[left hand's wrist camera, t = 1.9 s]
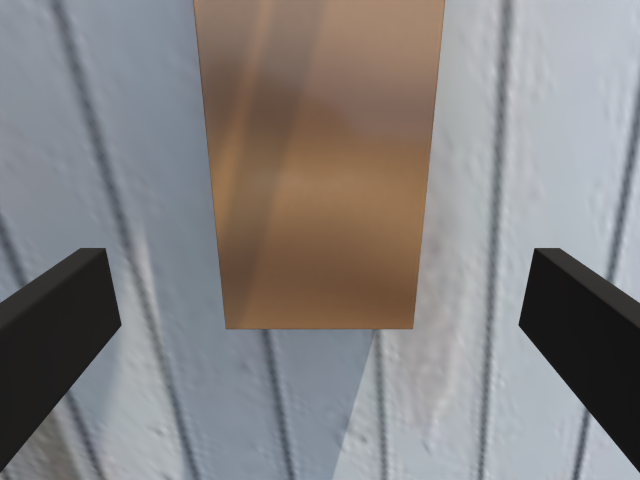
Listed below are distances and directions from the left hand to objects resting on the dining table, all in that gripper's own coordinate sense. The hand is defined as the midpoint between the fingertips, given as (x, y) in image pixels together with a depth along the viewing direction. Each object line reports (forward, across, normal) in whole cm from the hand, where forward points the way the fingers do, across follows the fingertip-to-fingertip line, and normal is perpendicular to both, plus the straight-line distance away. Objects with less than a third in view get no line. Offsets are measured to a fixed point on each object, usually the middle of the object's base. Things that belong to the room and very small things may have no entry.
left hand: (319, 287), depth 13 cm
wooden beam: (+13, 0, -29) cm, 32 cm away
